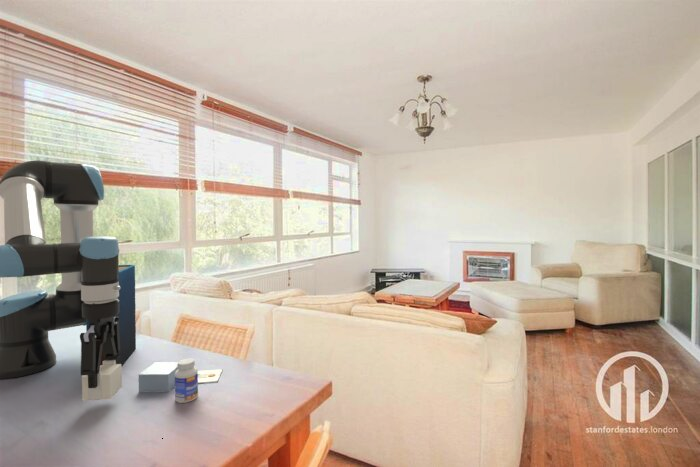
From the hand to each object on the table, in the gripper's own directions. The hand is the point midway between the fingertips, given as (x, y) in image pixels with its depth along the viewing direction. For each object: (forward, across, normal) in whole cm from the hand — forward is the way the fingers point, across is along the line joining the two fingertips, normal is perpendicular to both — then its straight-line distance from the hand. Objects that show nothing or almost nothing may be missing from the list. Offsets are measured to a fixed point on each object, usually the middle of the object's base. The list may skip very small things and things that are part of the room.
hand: (102, 391), depth 86 cm
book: (+5, +30, +12) cm, 33 cm away
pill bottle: (+3, 0, -19) cm, 20 cm away
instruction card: (+3, +12, -20) cm, 24 cm away
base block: (+4, +9, -10) cm, 15 cm away
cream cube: (0, 0, 0) cm, 1 cm away
